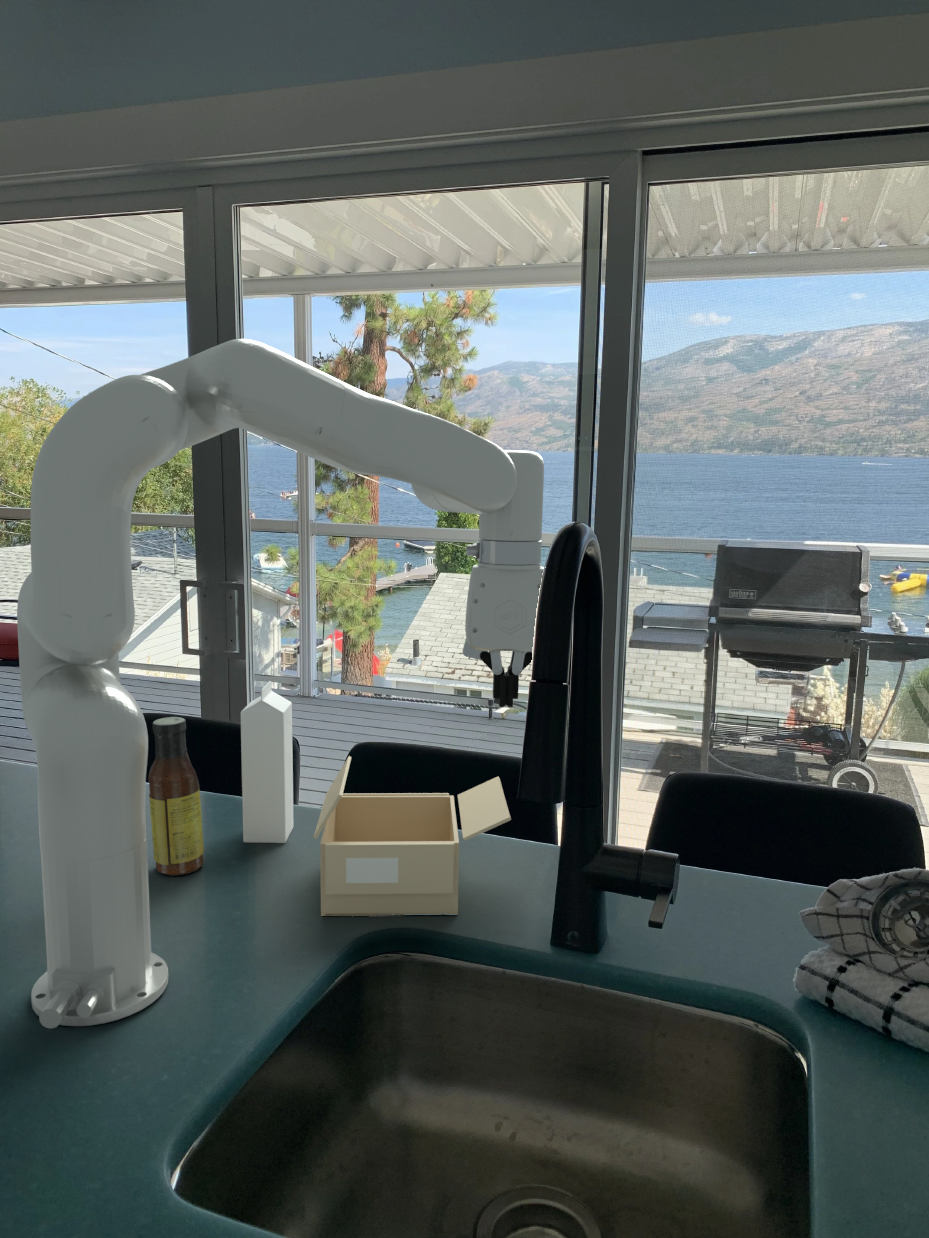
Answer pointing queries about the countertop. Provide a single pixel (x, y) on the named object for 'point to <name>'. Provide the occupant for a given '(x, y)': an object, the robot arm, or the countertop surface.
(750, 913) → the countertop surface
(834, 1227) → the countertop surface
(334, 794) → the left flap
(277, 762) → the milk
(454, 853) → the carton
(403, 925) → the countertop surface
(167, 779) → the sauce bottle
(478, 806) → the right flap
